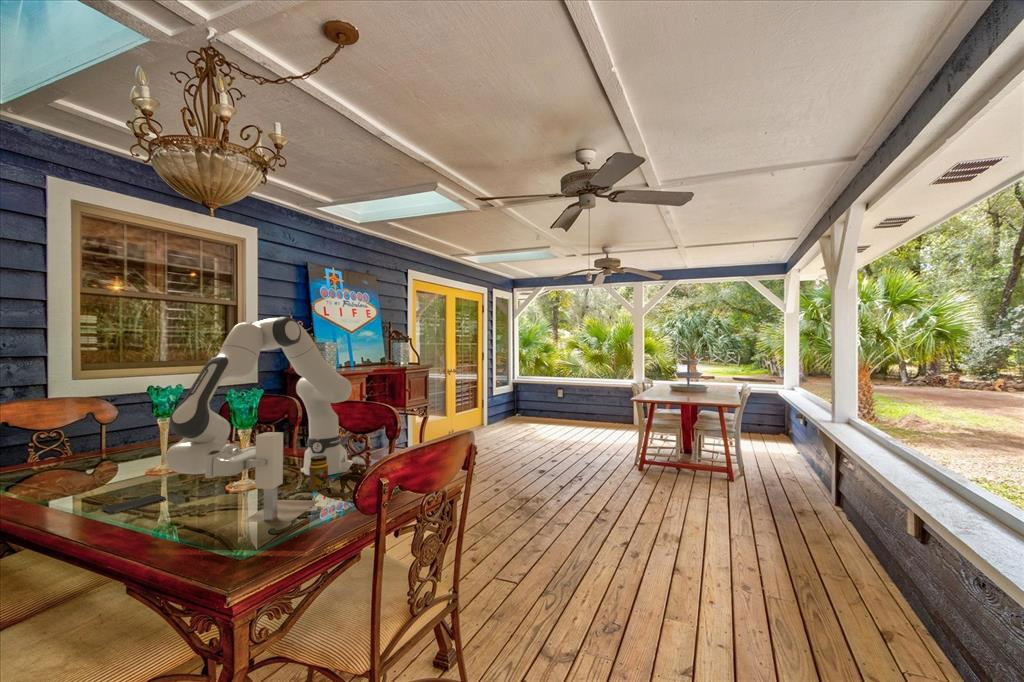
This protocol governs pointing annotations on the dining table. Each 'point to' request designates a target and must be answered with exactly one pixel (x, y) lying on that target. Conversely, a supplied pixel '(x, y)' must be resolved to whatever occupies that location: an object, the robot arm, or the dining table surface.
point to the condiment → (318, 473)
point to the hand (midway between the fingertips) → (272, 459)
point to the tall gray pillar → (269, 460)
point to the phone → (133, 503)
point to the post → (270, 504)
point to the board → (285, 510)
